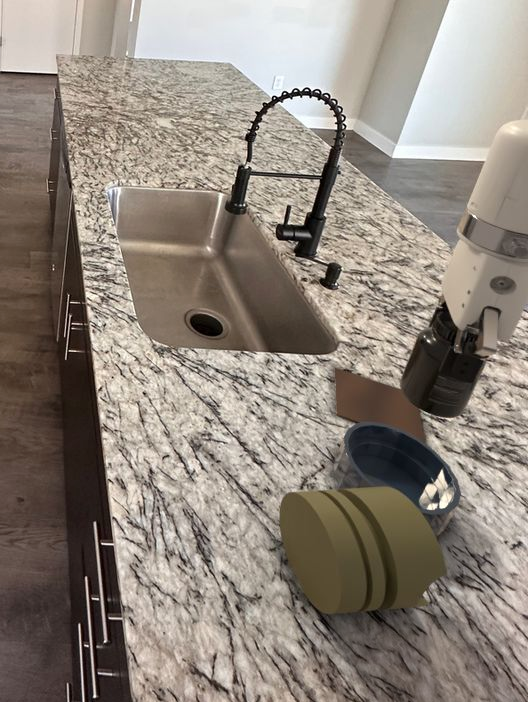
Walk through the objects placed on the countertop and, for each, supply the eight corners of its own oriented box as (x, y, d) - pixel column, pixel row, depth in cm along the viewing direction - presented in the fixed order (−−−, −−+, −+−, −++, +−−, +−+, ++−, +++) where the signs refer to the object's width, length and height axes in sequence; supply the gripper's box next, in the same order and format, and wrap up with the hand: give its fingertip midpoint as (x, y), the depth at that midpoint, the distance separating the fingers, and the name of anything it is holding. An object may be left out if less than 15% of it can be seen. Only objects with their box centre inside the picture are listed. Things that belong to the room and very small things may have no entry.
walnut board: (414, 396, 90) (415, 394, 89) (425, 449, 81) (426, 446, 80) (333, 369, 95) (334, 367, 94) (335, 416, 86) (336, 413, 85)
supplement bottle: (471, 403, 68) (507, 330, 63) (450, 430, 65) (487, 354, 60) (410, 369, 73) (440, 298, 68) (388, 392, 70) (417, 319, 65)
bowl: (435, 472, 77) (448, 446, 75) (455, 561, 66) (471, 533, 64) (332, 434, 83) (341, 408, 80) (334, 510, 72) (346, 483, 70)
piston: (425, 627, 60) (462, 567, 55) (323, 636, 59) (353, 575, 54) (358, 523, 70) (385, 465, 66) (271, 529, 69) (292, 470, 65)
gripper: (581, 286, 50) (508, 421, 57) (521, 206, 64) (468, 322, 72) (482, 264, 53) (424, 395, 60) (445, 192, 68) (401, 305, 75)
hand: (448, 355), depth 66 cm, fingers closed on supplement bottle, 6 cm apart
